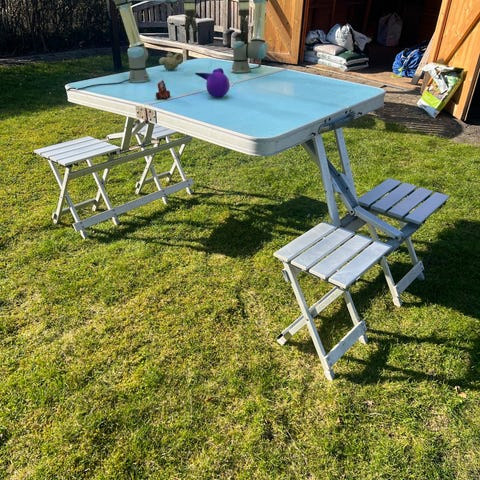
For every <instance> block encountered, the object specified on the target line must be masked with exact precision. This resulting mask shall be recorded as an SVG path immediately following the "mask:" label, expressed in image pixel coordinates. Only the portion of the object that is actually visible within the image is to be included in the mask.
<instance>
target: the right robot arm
mask: <svg viewBox="0 0 480 480" xmlns="http://www.w3.org/2000/svg"><path fill="white" fill-rule="evenodd" d="M237 2H238V4H237V6H238V16H239V17H240V26H239V31H240V40H238V41H235V42H233V44H232V54H233V55H232V56H233V57H232V59H233V63H232V67H231V73H232V74H249V73H251V70H254V69H258V68H261V65H263V64H264V65H268V63H267V62H261V63H259V64H258V66H254V67H250V63H249V59H254V60H255V59H256V60H260V59H261V60H262V59H264V58H266V56H267V52H268V43H267V42H266V39H265V24H266V23H265V22H266V11H267V4H269V0H252V2H253V4H254V8H253V10H254V11H253V27H252V38H251V39H250V41H249V33H250V31H249V19H248V16H250V15H251V14H250V0H237Z"/></svg>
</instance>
